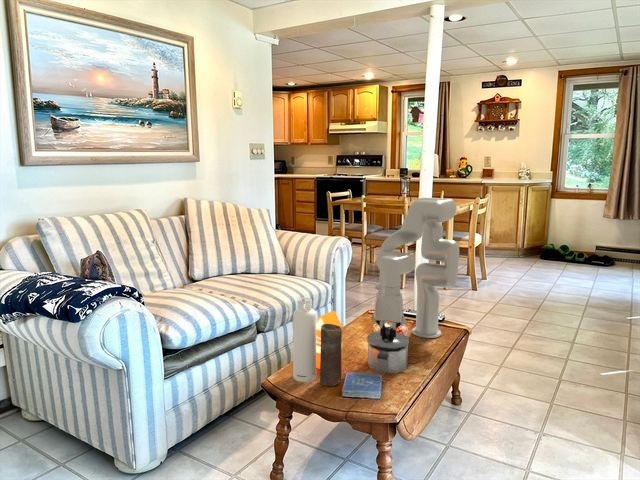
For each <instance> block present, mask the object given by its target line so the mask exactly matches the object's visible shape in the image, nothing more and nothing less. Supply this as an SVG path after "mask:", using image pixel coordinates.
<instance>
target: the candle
mask: <svg viewBox="0 0 640 480" xmlns="http://www.w3.org/2000/svg"><path fill="white" fill-rule="evenodd" d="M342 364H343V327H342V328H341V327H340V326H337V325H334V324H322V326H321V352H320V369H319V383H320V385H323V386H336V385H338V384H339V383H340V382H341V381H342Z"/></svg>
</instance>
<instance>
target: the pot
mask: <svg viewBox="0 0 640 480" xmlns="http://www.w3.org/2000/svg"><path fill="white" fill-rule="evenodd" d="M408 345H409V344H408ZM408 345H407V346H405V347H403V348H398V349H384V348H378V347H375V346H373V345H371V344H369V343H368V342H367V365H368V367H369V368H370V369H372V370H373V371H376V372H377V373H378V372H379V373H383V374H399V373H401V372H404V371H406V369H407V366H408V354H409V353H408V349H409V346H408Z"/></svg>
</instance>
